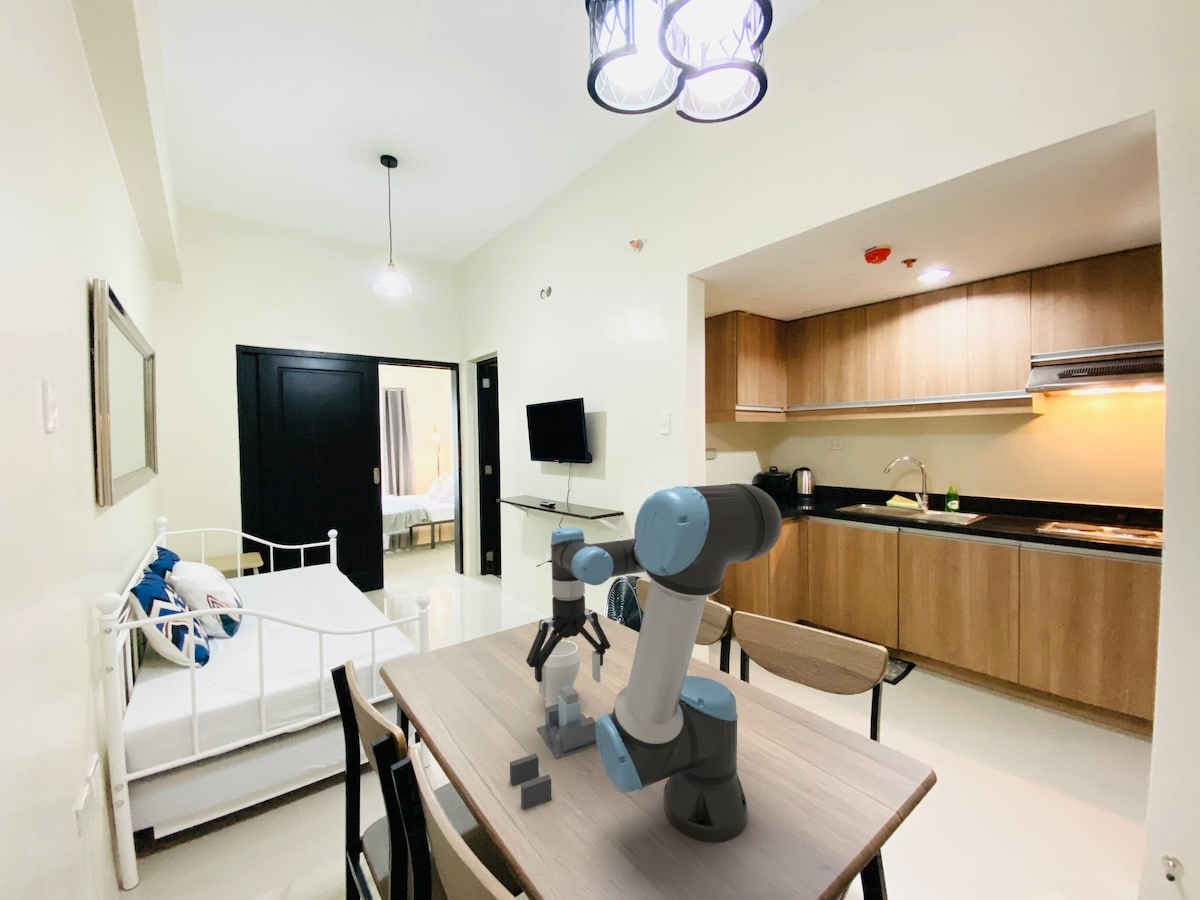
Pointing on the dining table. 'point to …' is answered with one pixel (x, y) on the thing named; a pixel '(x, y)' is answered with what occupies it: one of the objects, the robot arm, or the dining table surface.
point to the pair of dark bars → (533, 789)
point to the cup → (561, 669)
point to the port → (567, 733)
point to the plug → (568, 706)
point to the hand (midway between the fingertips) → (570, 687)
